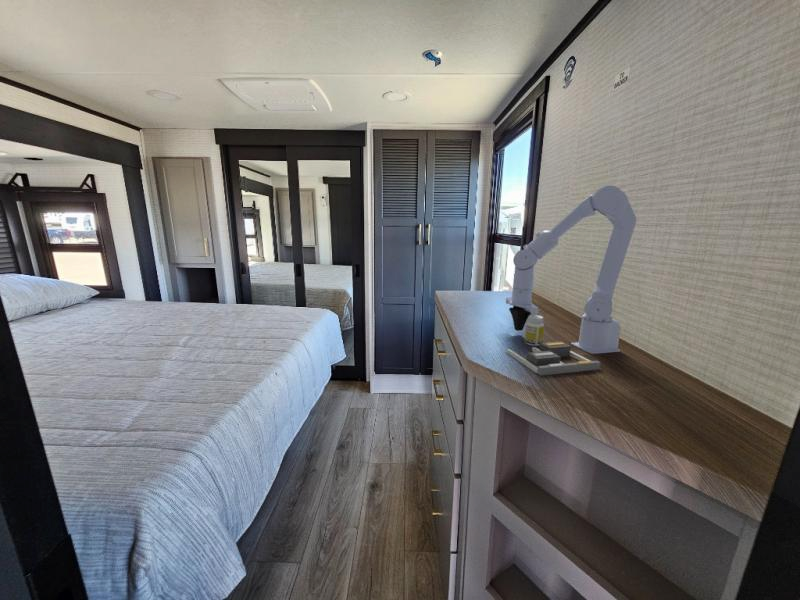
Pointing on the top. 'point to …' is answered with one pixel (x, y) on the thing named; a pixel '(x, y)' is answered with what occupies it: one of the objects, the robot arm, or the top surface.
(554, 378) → the top surface
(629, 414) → the top surface
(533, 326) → the supplement bottle
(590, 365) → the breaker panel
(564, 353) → the breaker
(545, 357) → the block
